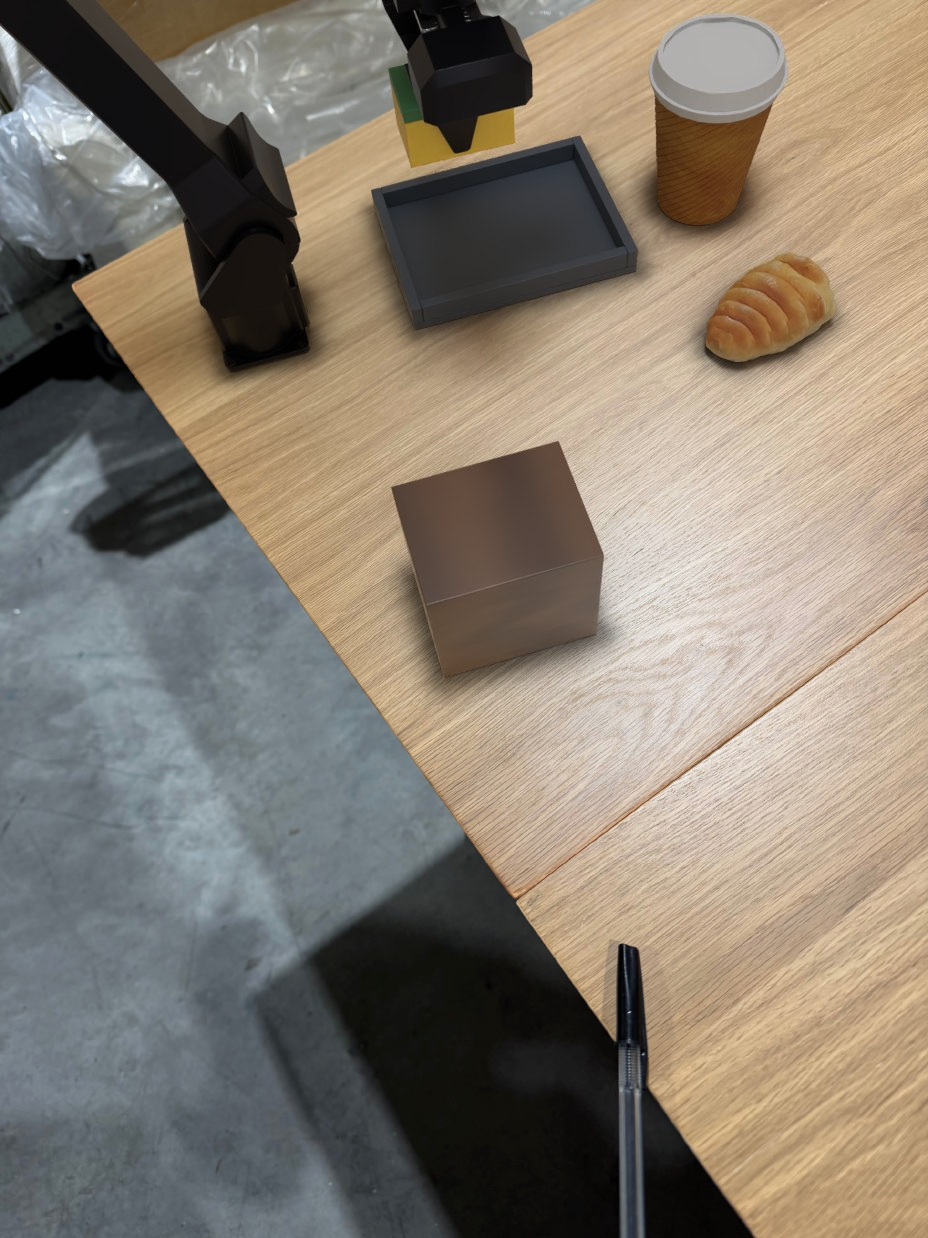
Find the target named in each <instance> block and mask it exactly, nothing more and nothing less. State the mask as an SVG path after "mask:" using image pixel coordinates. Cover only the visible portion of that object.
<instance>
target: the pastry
mask: <svg viewBox="0 0 928 1238" xmlns="http://www.w3.org/2000/svg"><path fill="white" fill-rule="evenodd" d="M830 285H831V284H830V278H829V276H828V274H827V273H826V272H825V270H823V269H822V268H821V266H820V265H819V264H818V263H816V262H815V261H814V260H813V259H811V258H810V257H808V256H804V255H798V254H796V253H794V252H787V253H782V254H781V253H780V254H777V255H776V256H775V257H774V258H773V259H771V260H769V261H766V262H764V263H761V264H760V265H757V266H755V267H753V268H751V269H750V270H748V271H747V272H746V273H745V274H744V275H743V276H742V277H741V278H740V279H738V280H737V281H735V282H734V283H733V284H732V285H731V286H730V287H729V289H728V290H726V291H725V292H724V294H723V296H722V298H721V299H720V300H719V302H718V303H717V306H716V309H715V311H714V312H713V314H712V315H711V317H710V318H708V320H707V322H706V336H705V347H706V348H707V349H708V350H709V351H711V352H712V353H713V354H714V355H716V356H717V357H719V358H722V359H724V360H728V361H731V362H735V363H741V362H743V363H745V362H748V361H751V360H752V361H753V360H757V359H759V357H763V356H767V355H776V354H779V353H782V352H785V351H786V350H787V349H789V348H790V347H792V346H794V345H796V344H797V343H799V342H802V340H804V339H805V338H806V337H808V336H810V335H813V334H814V333H816V332H817V331H818V330H819V329H820V328H821V326H822V325H824V324H826V323H827V322H828V321H829V320H831V319H832V318H833V317H834V316H835V314H836V312H837V303H836V302H835V293H834V292H833V289H832V288H831V286H830Z"/></svg>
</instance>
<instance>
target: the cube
mask: <svg viewBox="0 0 928 1238" xmlns="http://www.w3.org/2000/svg"><path fill="white" fill-rule="evenodd" d="M566 458H567V457H566V455H565V453H564V450H563V448H562V446H561V443H560V441H559V440H557V441H553V442H549V443H546V444H545V443H544V444H542V445H538V446H535V447H531V448H527V449H524V450H519V451H517V452H513V453H509V454H506V455H501V456H498V457H495V458H491V459H488V460H487V459H486V460H484V461H480V462H477V463H473V464H469V465H465V466H461V467H459V468H456V469H451V470H448V471H445V472H444V471H443V472H440V473H436V474H433V475H430V476H426V477H422V478H419V479H415V480H412V481H408V482H404V483H401V484H397V485H393V486H391V488H390V489H391V493H392V496H393V501H394V505H395V508H396V512H397V516H398V520H399V524H400V527H401V530H402V535H403V538H404V543H405V545H406V551H407V554H408V558H409V561H410V565H411V568H412V572H413V576H414V579H415V583H416V586H417V590H418V593H419V597H420V600H421V603H422V606H423V607H422V608H423V610H424V614H425V618H426V622H427V624H428V628H429V632H430V635H431V638H432V642H433V644H434V648H435V652H436V654H437V655H436V656H437V660H438V662H439V666H440V669H441V673H442V676H443V678H448V677H451V676H454V675H455V676H456V675H458V674H459V675H460V674H462V673H464V672H469V671H472V670H476V669H480V668H483V667H486V666H490V665H493V664H497V663H501V662H504V661H508V660H511V659H515V658H517V657H521V656H525V655H528V654H531V653H535V652H539V651H542V650H545V649H546V650H547V649H549V648H553V647H556V646H560V645H563V644H566V643H570V642H574V641H577V640H580V639H584V638H587V637H591V636H594V635H597V632H598V631H597V630H598V620H599V612H600V610H599V609H600V602H601V591H602V580H603V572H604V571H603V570H604V561H605V554H604V551H603V548H602V546H601V543H600V540H599V539H598V536H597V533H596V531H595V528H594V526H593V523H592V521H591V518H590V516H589V513H588V511H587V508H586V506H585V503H584V501H583V498H582V496H581V493H580V490H579V488H578V486H577V483H576V481H575V478H574V476H573V473H572V470H571V467H570V465H569V463H568V461H567V459H566Z"/></svg>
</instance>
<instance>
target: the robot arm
mask: <svg viewBox="0 0 928 1238" xmlns="http://www.w3.org/2000/svg"><path fill="white" fill-rule="evenodd" d="M380 1H381V4H382V7H383V9H384V11H385V13H386V14H387V16H388V18H389V20H390V22H391V24H392V26H393V28H394V30H395V31H396V33H397V35H398V37H399V39H400V40H401V42H402V45H403V47H404V48H405V50H406V52H407V53H406V59H407V62H406V63H404V64H403V65H404V67H405V69H406V72H407V75H408V78H409V81H410V84H411V87H412V90H413V92H414V95H415V98H416V100H417V103H418V106H419V109H420V112H421V115H422V118H423V120H424V123H427V124H430V125H433V126H437V127H438V128H439V130H440V132H441V133H442V135H443V136H444V138H445V140H446V141H447V143H448V144H449V146H450V148H451V149H452V151H453V152H454V153H455V154H458V153H462V152H466V151H469V150H470V148H471V145H472V141H473V136H474V132H475V128H476V124H477V120H478V116H482V115H486V114H491V113H495V112H499V111H503V110H507V109H511V108H514V109H515V108H519V107H523V106H524V107H525V106H527V105H528V103H529V102H530V101H531V99H532V98H533V97H534V89H533V87H534V86H533V85H534V84H533V83H534V82H533V64H532V61H531V59H530V56H529V54H528V52H527V49H526V48H525V46H524V42H523V41H522V39H521V36H520V34H519V32H518V30H517V27H515V26H514V25H513V24H512V23H510V22H509V21H508V20H506V19H505V18H504V17H503V16H501V15H489V14H488V15H487V14H482V12H481V11H482V10H481V9H480V7H479V4H478V2H477V0H380ZM0 27H1V28H2V29H3V30H4V31H5V32H6V34H8V35H9V36H10V37H11V38H12V39H13V40H14V41H15V42H17V44H19V45H20V46H21V47H22V48H23V49H24V50H25V51H26V52H27V53H28V54H29V55H31V57H33V59H35V61H36V62H38V63H39V64H40V65H41V66H42V67H43V68H44V69H45V70H46V71H47V72H48V73H50V75H51V76H53V78H55V79H56V80H57V81H58V82H59V83H60V84H61V85H62V86H63V87H64V88H65V89H66V90H67V91H68V92H69V93H71V94H72V95H73V96H74V97H75V98H76V99H77V100H78V101H79V102H80V103H81V104H82V105H83V106H84V107H86V108H87V109H88V110H89V112H91V113H92V114H93V115H94V116H95V117H96V118H97V119H98V120H99V121H100V122H101V123H103V125H104V126H106V127H107V129H109V130H110V131H111V132H112V133H113V134H114V135H115V136H116V137H117V138H118V139H119V140H120V141H122V143H124V144H125V145H126V146H127V147H128V148H129V149H130V150H131V151H132V152H133V153H134V154H135V155H136V156H137V157H139V159H140V160H142V161H143V162H144V163H145V164H146V165H147V166H148V167H149V168H150V169H151V170H152V171H154V173H156V174H157V175H158V177H160V179H162V180H163V181H164V182H165V184H166V185H167V186H168V188H169V189H170V191H171V193H172V194H173V196H174V198H175V199H176V201H177V203H178V205H179V207H180V208H181V210H182V212H183V214H184V216H183V218H182V224H183V228H184V229H183V230H184V233H185V239H186V243H187V249H188V254H189V257H190V263H191V267H192V272H193V277H194V282H195V286H196V287H195V288H196V292H197V297H198V301H199V305H200V306H201V307H202V308H203V309H204V310H205V312H206V314H207V316H208V318H209V321H210V323H211V325H212V328H213V329H214V332H215V335H216V336H217V339H218V341H219V343H220V347H221V352H222V356H223V363H224V365H225V368H226V370H227V371H228V372H230V373H233V372H238V371H242V370H245V369H248V368H252V367H256V366H260V365H263V364H267V363H271V362H275V361H278V360H281V359H282V360H283V359H286V358H289V357H293V356H298V355H300V354H304V353H307V352H308V351H310V349H311V344H310V341H309V337H308V333H307V329H306V328H308V327H309V326H310V325H311V320H310V317H309V314H308V310H307V306H306V303H305V298H304V296H303V292H302V289H301V286H300V284H299V280H298V276H297V273H296V270H295V267H294V264H293V262H294V260H295V258H296V257H297V255H298V254H299V250H300V245H301V242H302V239H301V235H300V233H299V228H298V225H297V221H296V217H298V211H297V208H296V204H295V200H294V197H293V194H292V190H291V187H290V183H289V180H288V179H289V178H288V175H287V172H286V169H285V166H284V162H283V159H282V154H281V151H280V149H279V147H277V146H274V145H273V144H271V143H268V141H266V140H265V139H264V138H262V137H261V136H260V134H259V133H258V132H257V130H256V128H255V127H254V126H253V124H252V123H251V122H252V121H251V120H250V119H249V117H248V116H247V115H246V114H245V113H244V111H240V112H238V113H237V115H236V116H235V117H234V118H233V119H232V120H231V121H230V122H229V123H228V124H225V123H223V122H221V121H217V120H215V119H212V118H209V117H207V116H206V115H204V114H203V113H202V112H201V111H200V110H199V109H198V108H197V107H196V106H195V105H194V103H192V102H191V100H189V98H188V97H186V95H185V94H184V93H183V92H182V91H181V90H180V89H179V88H178V87H177V85H176V84H175V83H174V82H173V81H171V79H170V78H168V76H167V75H166V74H165V73H164V72H163V71H162V70H161V68H159V67H158V65H157V64H156V63H155V62H154V61H153V60H152V59H151V58H150V57H149V55H147V53H146V52H144V51H143V49H142V48H141V47H140V46H139V45H138V44H137V43H136V42H135V41H134V39H132V38H131V37H130V36H129V34H128V33H127V31H125V30H124V29H123V28H122V27H121V26H120V25H119V24H118V22H117V21H116V20H115V19H114V18H113V17H112V16H111V15H110V14H109V13H108V12H107V11H106V10H105V9H104V7H103V6H101V4H100V3H99V2H98V1H97V0H0Z"/></svg>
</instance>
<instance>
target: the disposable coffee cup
mask: <svg viewBox="0 0 928 1238" xmlns="http://www.w3.org/2000/svg"><path fill="white" fill-rule="evenodd" d="M789 74H790V73H789V63H788V61H787V57H786V48H785V45H784V42H783V40H782V38H781V36H780V35H779V34H778V33H777V32H776V31H775V30H774V29H773V28H772V27H771V26H770V25H767V24H766V23H765V22H763V21H761V20H758V19H756V18H753V17H751V16H747V15H741V14H737V13H732V12H731V13H728V12H724V13H723V12H715V13H707V14H706V13H705V14H701V15H697V16H694V17H690V18H687V19H685V20H683V21H681V22H679V23H677V24H676V25H674V26H673V27H672V28H670V30H668V31H667V32H666V33H665V34H664V35H663V37H662V38H661V40H660V43H659V44H658V48H657V49H656V50H655V52H654V54H653V56H652V57H651V58H650V62H649V66H648V77H649V82H650V86H651V88H652V91H653V94H654V95H653V96H654V105H655V106H654V113H655V114H654V119H655V121H654V122H655V123H654V125H655V149H656V150H655V151H656V152H655V155H656V190H657V191H656V192H657V194H656V195H657V196H656V198H657V203H658V206H659V207H660V209H661V211H662V213H664V214H665V215H666V216H667V217H669V218H670V219H672V220H674V221H676V222H678V223H682V224H685V225H691V226H704V225H705V226H706V225H712V224H714V223H718V222H721V221H722V220H724V219H725V218H727V217H728V216H729V215H730V214H731V213H732V212H733V211H734V210H735V209H736V207H737V204H738V201H739V199H740V195H741V193H742V191H743V187H744V185H745V181H746V179H747V177H748V173H749V171H750V168H751V166H752V163H753V160H754V158H755V155H756V152H757V149H758V146H759V144H760V141H761V138H762V136H763V132H764V130H765V128H766V125H767V122H768V119H769V116H770V114H771V110H772V108H773V105H774V102H775V101H776V100H777V98H778V97H779V95H780V93H782V91H783V90H784V88H785V87H786V84H787V80H788V77H789Z"/></svg>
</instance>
